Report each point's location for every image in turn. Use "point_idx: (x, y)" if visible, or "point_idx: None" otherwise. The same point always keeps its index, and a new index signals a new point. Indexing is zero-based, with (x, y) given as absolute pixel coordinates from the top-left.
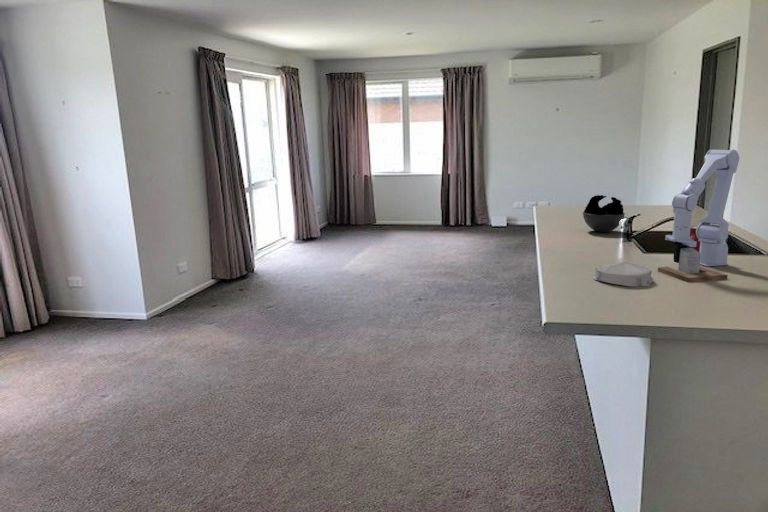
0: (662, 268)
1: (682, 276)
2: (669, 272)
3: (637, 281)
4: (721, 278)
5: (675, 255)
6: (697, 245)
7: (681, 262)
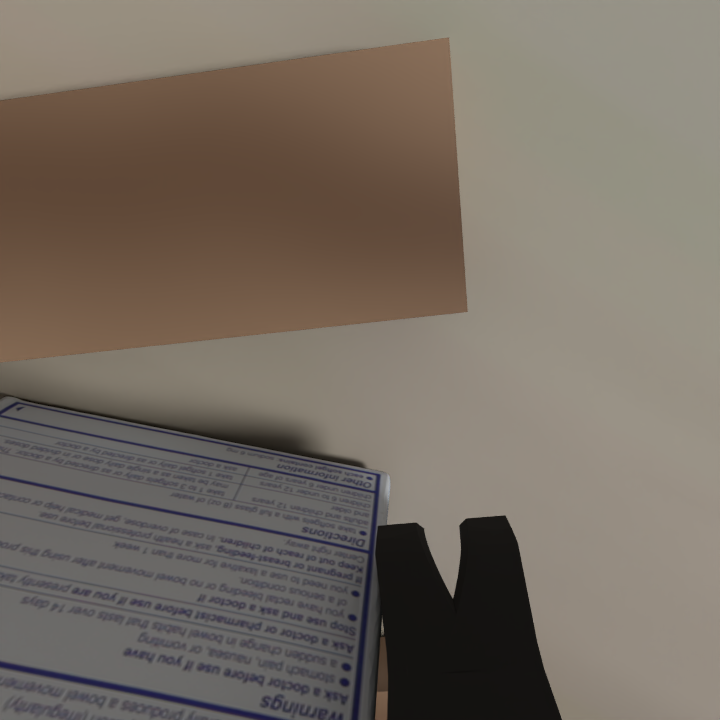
0: (316, 94)
1: None
2: (17, 102)
3: None
4: None
5: (445, 629)
6: None
7: (219, 559)
